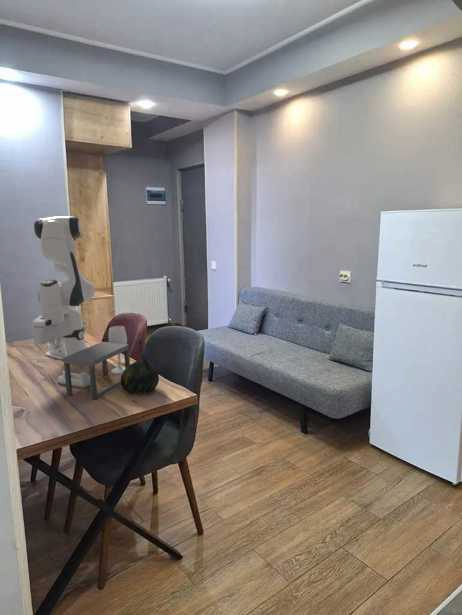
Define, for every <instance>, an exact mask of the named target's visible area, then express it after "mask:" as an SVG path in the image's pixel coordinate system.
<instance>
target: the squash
mask: <svg viewBox="0 0 462 615" xmlns="http://www.w3.org/2000/svg"><path fill="white" fill-rule="evenodd" d="M157 370H158V369H157V368H156V367H155V366H154V364H153V363H152V362H150V361H149V360H148V359H147V358H141V359H138V360H136V361H134V362H132V363H130V365H129V366H128V367H127V368H126V369H125V370H124V371H123V373H122V374H121V377H120V380H121V385H120V386H121V388H122V390H123V391H124V392H127V393H128V394H129V395H135V394H137V395H139V394H150V393H153V392H154V390H156V388H157V386H158V384H159V383H160V382H159V381H160V376H159V372H158V371H157Z"/></svg>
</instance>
